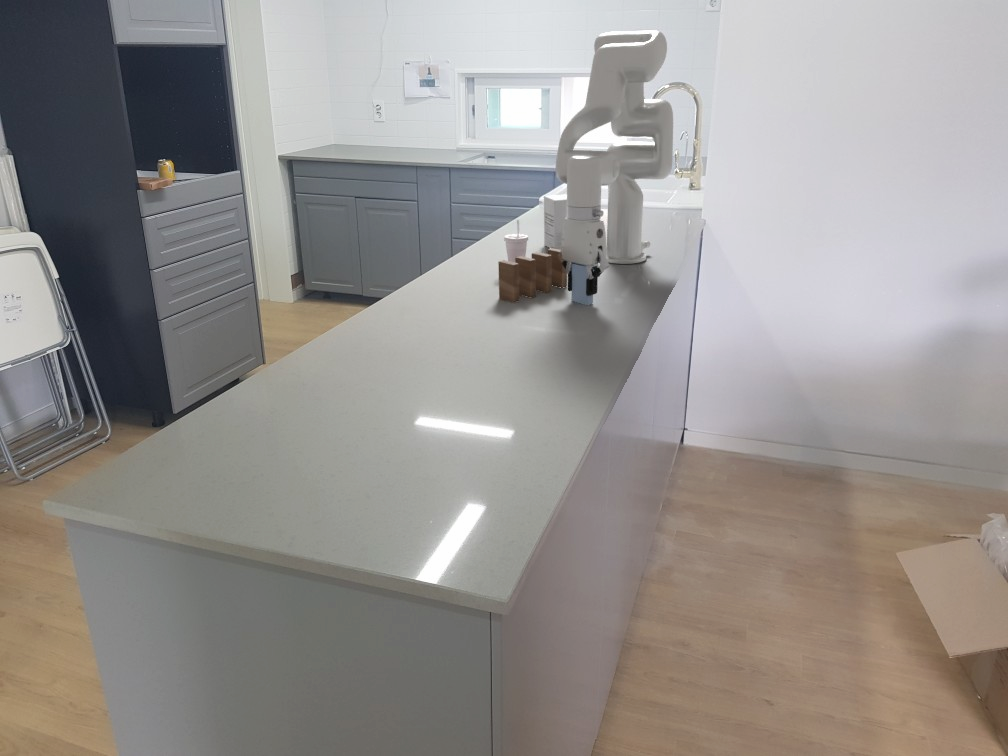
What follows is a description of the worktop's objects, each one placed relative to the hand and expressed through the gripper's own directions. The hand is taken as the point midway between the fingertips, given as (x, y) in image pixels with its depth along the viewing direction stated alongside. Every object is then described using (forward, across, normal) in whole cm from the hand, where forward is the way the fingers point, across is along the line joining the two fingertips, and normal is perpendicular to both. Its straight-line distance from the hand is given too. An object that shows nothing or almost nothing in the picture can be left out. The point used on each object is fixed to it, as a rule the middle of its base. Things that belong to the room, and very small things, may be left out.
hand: (582, 291), depth 180 cm
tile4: (+3, +14, +4) cm, 15 cm away
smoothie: (+3, +31, -9) cm, 32 cm away
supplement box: (+3, +42, -39) cm, 57 cm away
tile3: (+3, +14, -1) cm, 14 cm away
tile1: (+3, 0, 0) cm, 3 cm away
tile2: (+3, +14, -6) cm, 16 cm away
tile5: (+3, +14, +10) cm, 17 cm away
